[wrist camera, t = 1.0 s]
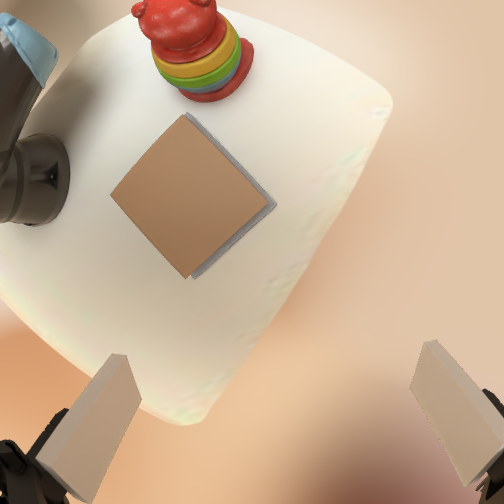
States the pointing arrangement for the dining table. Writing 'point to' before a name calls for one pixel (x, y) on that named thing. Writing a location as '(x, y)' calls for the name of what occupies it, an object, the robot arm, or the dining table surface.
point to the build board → (191, 197)
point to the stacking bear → (195, 47)
